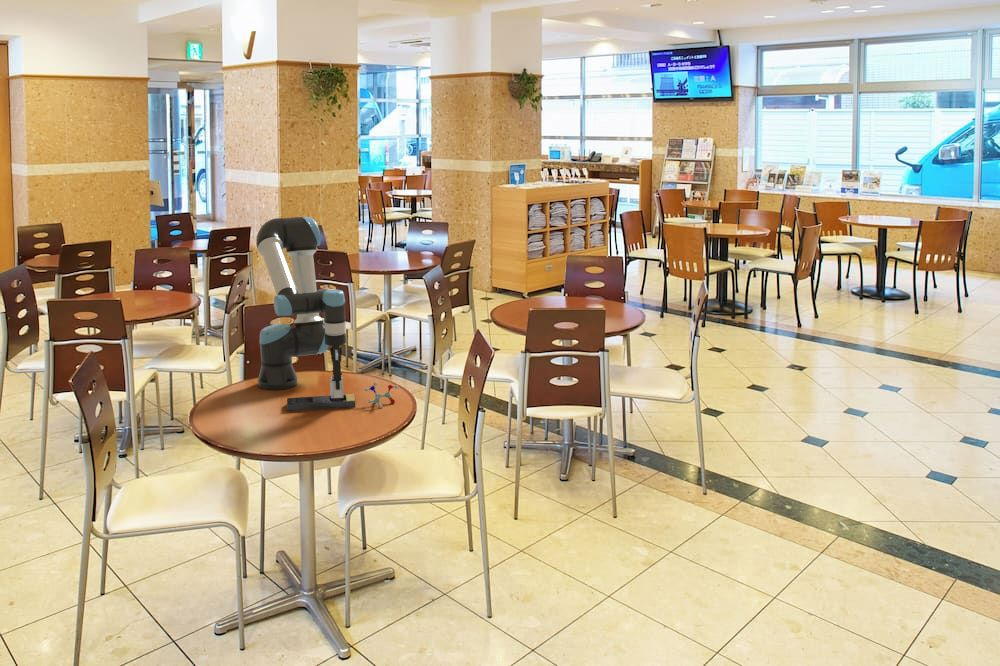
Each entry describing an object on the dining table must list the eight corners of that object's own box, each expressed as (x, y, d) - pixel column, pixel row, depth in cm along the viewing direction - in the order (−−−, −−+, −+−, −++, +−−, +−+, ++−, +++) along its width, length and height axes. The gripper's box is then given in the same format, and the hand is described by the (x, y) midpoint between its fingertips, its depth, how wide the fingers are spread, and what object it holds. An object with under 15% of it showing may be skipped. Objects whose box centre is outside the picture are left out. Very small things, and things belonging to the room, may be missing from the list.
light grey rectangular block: (330, 394, 322) (329, 376, 320) (342, 394, 323) (342, 375, 321) (330, 398, 317) (330, 379, 316) (343, 397, 318) (343, 379, 317)
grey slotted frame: (287, 404, 321) (287, 397, 320) (354, 400, 326) (353, 393, 325) (287, 411, 313) (287, 404, 313) (355, 407, 318) (355, 400, 318)
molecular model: (390, 401, 313) (380, 376, 315) (368, 412, 316) (358, 387, 318) (404, 401, 324) (394, 376, 326) (383, 412, 327) (374, 387, 329)
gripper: (323, 327, 322) (326, 388, 327) (325, 339, 305) (328, 403, 311) (344, 327, 323) (346, 387, 329) (347, 338, 307) (349, 402, 312)
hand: (337, 395), depth 320 cm, fingers closed on light grey rectangular block, 4 cm apart
